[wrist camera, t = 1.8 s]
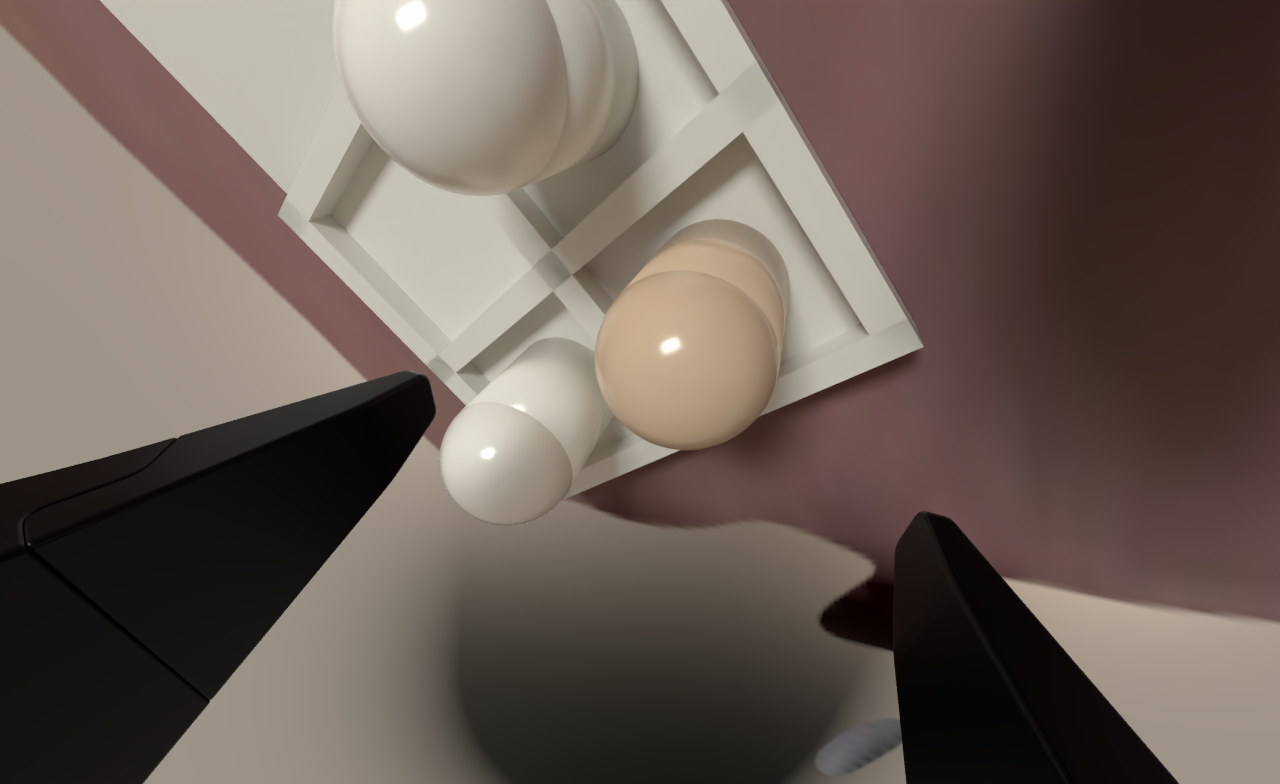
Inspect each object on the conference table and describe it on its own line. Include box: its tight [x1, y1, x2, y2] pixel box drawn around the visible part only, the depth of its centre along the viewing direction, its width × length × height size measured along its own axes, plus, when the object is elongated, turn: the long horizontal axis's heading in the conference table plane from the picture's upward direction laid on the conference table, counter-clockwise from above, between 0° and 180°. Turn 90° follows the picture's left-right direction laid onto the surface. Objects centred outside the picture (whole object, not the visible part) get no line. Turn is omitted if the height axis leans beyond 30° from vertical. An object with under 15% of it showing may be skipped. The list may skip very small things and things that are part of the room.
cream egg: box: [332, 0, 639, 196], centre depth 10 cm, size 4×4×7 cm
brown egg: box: [595, 219, 790, 450], centre depth 12 cm, size 4×4×7 cm
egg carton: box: [100, 0, 924, 500], centre depth 13 cm, size 32×16×2 cm, turn 40°
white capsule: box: [439, 337, 614, 526], centre depth 16 cm, size 4×4×7 cm
